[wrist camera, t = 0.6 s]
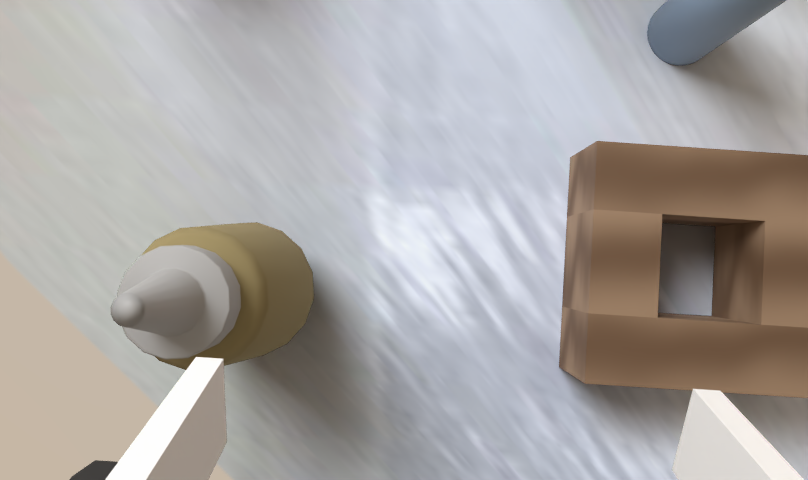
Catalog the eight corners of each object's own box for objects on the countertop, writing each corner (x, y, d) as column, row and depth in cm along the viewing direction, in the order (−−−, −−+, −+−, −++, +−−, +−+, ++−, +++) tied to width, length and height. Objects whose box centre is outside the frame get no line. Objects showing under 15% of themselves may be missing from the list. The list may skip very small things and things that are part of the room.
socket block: (769, 380, 36) (828, 399, 31) (559, 366, 36) (584, 383, 31) (776, 171, 37) (835, 157, 32) (570, 157, 37) (597, 141, 32)
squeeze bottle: (313, 355, 36) (228, 448, 18) (192, 338, 36) (-13, 413, 18) (331, 235, 37) (265, 207, 19) (211, 217, 36) (28, 174, 19)
